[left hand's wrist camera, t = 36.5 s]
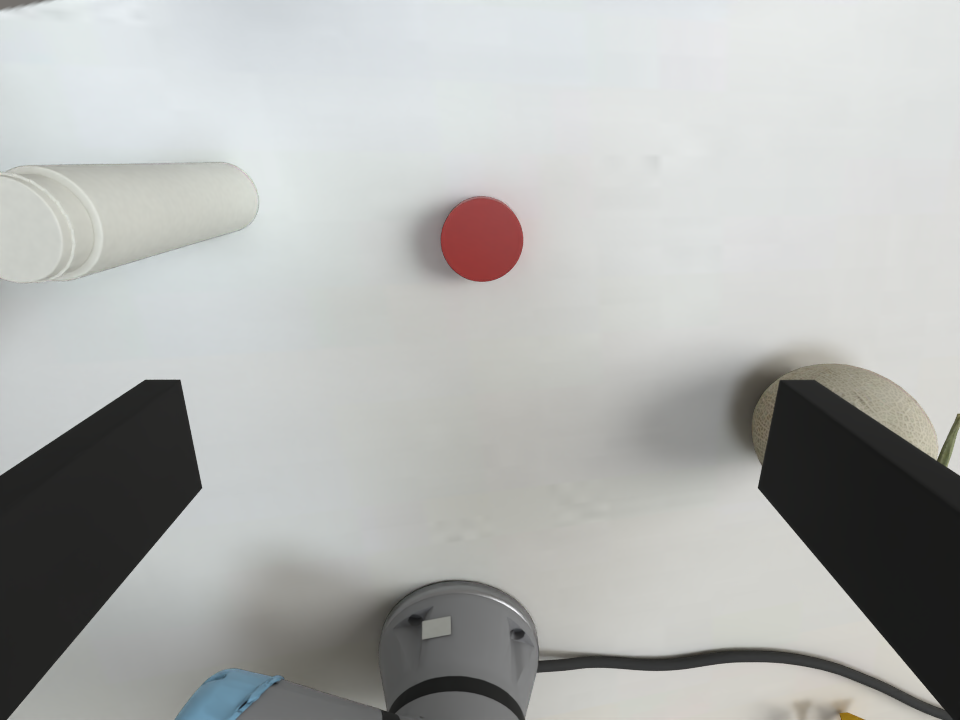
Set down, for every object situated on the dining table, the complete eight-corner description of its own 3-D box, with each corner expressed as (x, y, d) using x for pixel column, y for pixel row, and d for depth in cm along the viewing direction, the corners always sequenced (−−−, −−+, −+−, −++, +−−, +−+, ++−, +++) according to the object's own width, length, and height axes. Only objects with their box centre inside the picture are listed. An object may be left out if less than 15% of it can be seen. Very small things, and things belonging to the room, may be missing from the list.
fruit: (786, 488, 48) (913, 626, 34) (702, 406, 45) (802, 518, 31) (891, 408, 45) (1076, 521, 31) (808, 316, 43) (970, 394, 28)
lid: (426, 226, 40) (424, 230, 38) (492, 179, 39) (492, 180, 37) (472, 290, 42) (471, 297, 40) (536, 246, 41) (538, 251, 39)
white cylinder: (210, 147, 39) (-34, 138, 20) (271, 190, 40) (90, 217, 21) (180, 204, 40) (-75, 244, 22) (239, 244, 41) (44, 314, 23)
